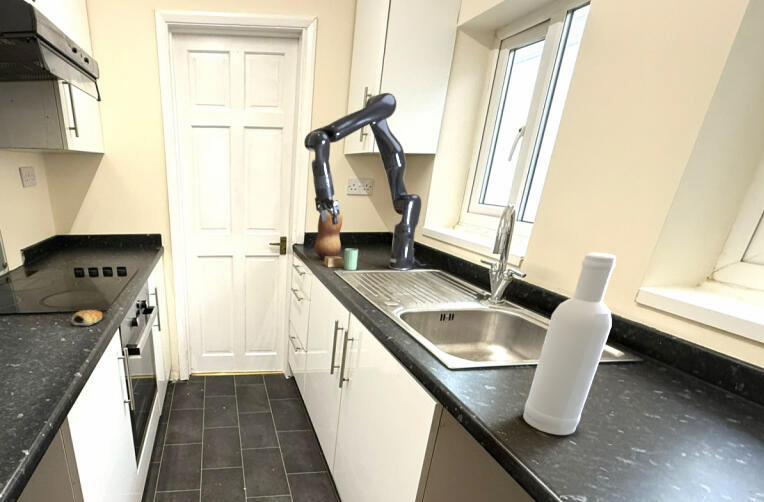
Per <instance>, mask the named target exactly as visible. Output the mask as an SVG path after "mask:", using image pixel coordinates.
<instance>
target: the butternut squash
mask: <svg viewBox="0 0 764 502" xmlns="http://www.w3.org/2000/svg"><path fill="white" fill-rule="evenodd" d="M331 209H332V208H331ZM331 209H330V210H331ZM336 211H337V210H336ZM324 212H325V213H326V219H327V220H326V221H324V222H323V221H321V215H320V214H319V216H318V222H317V237H316V239H315V243H314V251H315V254H316V255H317V256H318V257H319V258H320V259H321V260H322V261H325V257H326V256H339V254H340V252H341V248H342V245H341V239H340V233H341V230H342V226H343V214H342V212H341V211H340V215H337V220H338V224H337V225H335V226H334V225H333V224H332V216H331V215H330V213H328V211H327V210H326V209H325V211H324ZM332 213H333V211H332Z"/></svg>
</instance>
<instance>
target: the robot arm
mask: <svg viewBox="0 0 764 502" xmlns="http://www.w3.org/2000/svg"><path fill="white" fill-rule="evenodd" d="M396 109H397V99H396V97H395V96H394V94H393V93H390V92H381V93H379V94H375V95H373V96H370V97H369V98H368V99H367V100H366V102H365V105H364V107H363V108H361V109H359V110H357V111H354V112H351V113H349V114H347V115H344V116H342V117H340V118H338V119H336V120H334V121H332V122H331V123H329V124H327V125H324V126H321V127H319V128H316V129H313V130H312V131H310V132H308V133H307V134H306V136H305V137H304V140H303V144H304V148H305V149H306V150H307V151H309V152H313V153H314V158H313V159H312V161H311V171H312V178H313V180H312V181H313V187H314V192H315V197H314V202H315V203H314V204H315V209H316V212H318V213H319V216H320V215H321V221H323V222H324V221H326V220H327V219H326V213H325V212H324V211H325V209H326V210H327V211H328V213H330V215H331V216H332V224H333V225H334V226H335V225H337V224H338V220H337V215H340V212H341V211H340V205H339V201H338V199H336V200H334V199H333V196H334V195H335V187H334V181H333V175H332V172H331V171H332V170H331V164H330V155H331V144H333V143H334V144H335V143H337V142H339V141H341V140H343V139H345V138H347V137H348V136H350V135H352V134H354V133H356V132H357V131H359V130H362V129H363V128H364V127H367V126H370V129H371V131H372V134H373V137H374V140H375V143H376V147H377V149H378V152H379V156H380V159H381V160H380V161H381V163H382V166H383V171H384V173H385V176H386V179H387V183H388V187H389V192H390V197H391V203H392V207H393V210H394V212H395V213H396V214H398V215H401V220H400V221H399V222H396V223H395V224H394V228H393V235H392V244H391V252H390V258H389V259H390V260H389V266H388V268H389V269H391V270H395V271H408V270H412V268H413V264H415V262H416V264H417V265H418V266H419V267H426V266H427V263H423V264H421V263H420V261H419V260H417V259H415V258H416V257H415V248H414V242H415V236H416V229H417V227H418V224H419V221H420V216H421V211H422V198H421V196H420V195H419V194H416V193H415V194H414V193H408V190H407V188H406V184H405V176H406V175H405V174H406V170H407V159H406V155H405V154H406V153H405V151H404V148H403V146H402V143H401V142H400V141H399V139H398V138H397V137H396V136H395V135H394V133H393V132H392V130H391V129H390V127H389V124H388V121H387V119H389V118H390V117H392V116H393V114H394V113H395V112H396ZM330 209H331V210H330ZM336 210H337V211H336ZM332 211H333V213H332Z"/></svg>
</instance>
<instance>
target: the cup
mask: <svg viewBox="0 0 764 502" xmlns="http://www.w3.org/2000/svg"><path fill="white" fill-rule="evenodd" d="M358 256H359V249H358V248H351V247H350V248H344V255H343V265H342V268H343V270H345V271H355V270H357V266H358Z"/></svg>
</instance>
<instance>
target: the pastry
mask: <svg viewBox="0 0 764 502" xmlns="http://www.w3.org/2000/svg"><path fill="white" fill-rule="evenodd" d="M101 320H103V312H102V311H100V310H97V309H82V310H80V311H77V312H75V313H73V314H72V317H71V319H70V322H71V324H72V325H73V326H78V327H79V326H82V327H85V326H86V327H87V326H91V325H94V324H95V323H96V324H97V323H98V322H100V321H101Z"/></svg>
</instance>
